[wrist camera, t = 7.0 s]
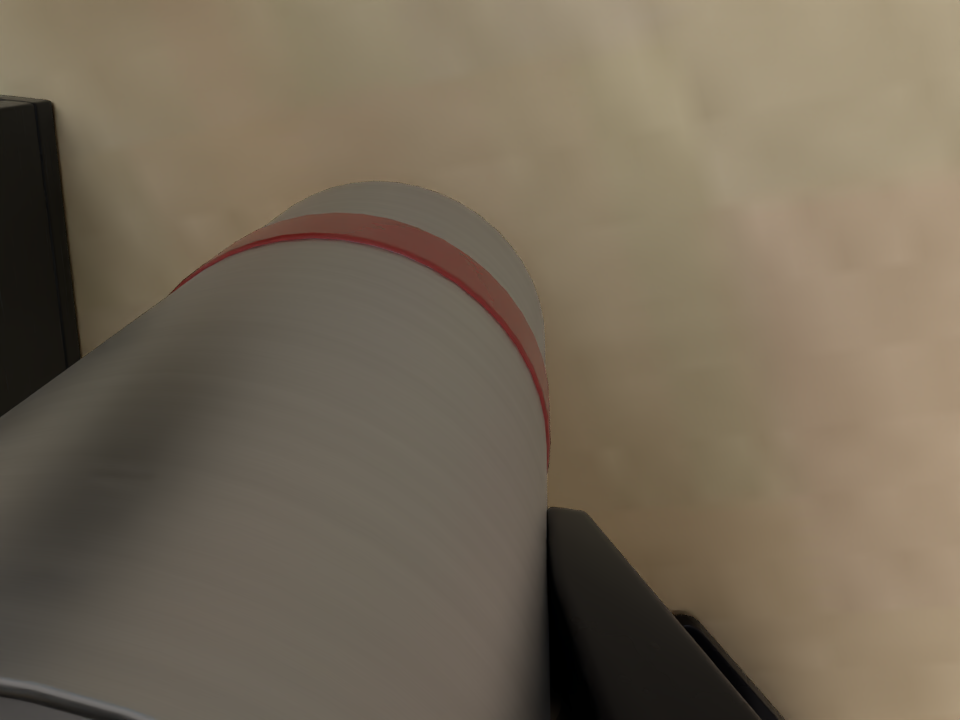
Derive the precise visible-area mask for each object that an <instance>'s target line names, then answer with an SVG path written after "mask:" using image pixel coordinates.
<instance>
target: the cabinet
mask: <svg viewBox="0 0 960 720" xmlns="http://www.w3.org/2000/svg"><path fill="white" fill-rule="evenodd" d="M79 360H80V350H79V341H78V332H77V324H76V315H75V306H74V297H73V288H72V279H71V271H70V262H69V253H68V244H67V235H66V227H65V218H64V209H63V200H62V191H61V182H60V174H59V165H58V156H57V147H56V138H55V129H54V121H53V112H52V104H51V102H50V101H48V100H43V99H34V98H25V97H16V96H7V95H0V417H1V416H3V415H4V414H6V413H7V412H8V411H10V410H11V409H13V408H14V407H15V406H17V405H18V404H19V403H21V402H22V401H24V400H25V399H26V398H28V397H29V396H30V395H32V394H33V393H35V392H36V391H37V390H39V389H40V388H42V387H43V386H44V385H46V384H47V383H48V382H50V381H51V380H53V379H54V378H55V377H57V376H58V375H59V374H61V373H62V372H64V371H65V370H66V369H68V368H69V367H70V366H72V365H73V364H75V363H76V362H77V361H79Z"/></svg>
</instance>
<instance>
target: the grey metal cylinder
mask: <svg viewBox="0 0 960 720" xmlns="http://www.w3.org/2000/svg"><path fill="white" fill-rule="evenodd" d="M550 444H551V437H550V402H549V388H548V380H547V375H546V370H545V332H544V319H543V314H542V310H541V305H540V300H539V298H538V295H537V292H536V289H535V287H534V284H533V281H532V279H531V277H530V275H529V273H528V271H527V269H526V268H525V266H524V264H523V262H522V261H521V259H520V258H519V256H518V255H517V253H516V252H515V251H514V249H513V248H512V246H511V245H510V244H509V243H508V242H507V241H506V240H505V238H504V237H503V236H502V235H501V234H500V233H499V232H498V231H497V230H496V229H495V228H494V227H493V226H492V225H490V224H489V223H488V222H487V221H486V220H484V219H483V218H482V217H481V216H480V215H478V214H477V213H475V212H474V211H472V210H471V209H469V208H467V207H466V206H464V205H463V204H461V203H460V202H457V201H455V200H453V199H451V198H449V197H447V196H445V195H442V194H440V193H438V192H435V191H432V190H428V189H425V188H422V187H419V186H414V185H409V184H403V183H398V182H382V181H369V182H358V183H350V184H345V185H341V186H336V187H332V188H329V189H326V190H324V191H321V192H318V193H316V194H313V195H311V196H309V197H307V198H305V199H303V200H302V201H300V202H298V203H296V204H294V205H293V206H291V207H290V208H288V209H287V210H286V211H284V212H283V213H282V214H280V215H279V216H277V217H276V218H275V219H273V220H272V221H271V222H269V223H268V224H266V225H265V226H264V227H262V228H261V229H258V230H256V231H254V232H252V233H251V234H249V235H247V236H245V237H243V238H242V239H240V240H238V241H236V242H235V243H233V244H232V245H230V246H229V247H227V248H226V249H225V250H223V251H222V252H220V253H219V254H218V255H216V256H215V257H213V258H212V259H211V260H209V261H208V262H206V263H205V264H203V265H202V266H201V267H200V268H198V269H197V270H196V271H194V272H193V273H192V274H190V275H189V276H188V277H187V278H185V279H184V280H183V281H182V282H181V283H180V284H179V285H178V286H177V287H176V288H175V289H174V290H173V291H172V292H171V293H170V294H169V295H168V296H167V297H166V298H164V299H163V300H162V301H160V302H159V303H157V304H156V305H155V306H153V307H152V308H150V309H149V310H148V311H146V312H145V313H144V314H142V315H141V316H139V317H138V318H137V319H135V320H134V321H133V322H131V323H130V324H128V325H127V326H126V327H124V328H123V329H122V330H120V331H119V332H117V333H116V334H115V335H113V336H112V337H110V338H109V339H108V340H106V341H105V342H104V343H102V344H101V345H99V346H98V347H97V348H95V349H94V350H93V351H91V352H90V353H88V354H87V355H86V356H84V357H83V358H82V359H80V360H79V361H77V362H76V363H75V364H73V365H72V366H70V367H69V368H68V369H66V370H65V371H64V372H62V373H61V374H59V375H58V376H57V377H55V378H54V379H53V380H51V381H50V382H48V383H47V384H46V385H44V386H43V387H42V388H40V389H39V390H37V391H36V392H35V393H33V394H32V395H30V396H29V397H28V398H26V399H25V400H24V401H22V402H21V403H19V404H18V405H17V406H15V407H14V408H13V409H11V410H10V411H8V412H7V413H6V414H4V415H3V416H1V417H0V720H550V650H549V610H548V578H547V473H548V468H549V457H550Z"/></svg>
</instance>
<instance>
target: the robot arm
mask: <svg viewBox="0 0 960 720" xmlns="http://www.w3.org/2000/svg"><path fill="white" fill-rule="evenodd" d="M547 578H548V610H549V650H550V720H785V719H784V718H783V717H782V716H781V715H780V714H779V712H778V711H777V710H776V709H775V708H774V707H773V706H772V704H771V703H770V702H769V701H768V700H767V699H766V698H765V696H764V695H763V694H762V693H761V692H760V691H759V690H758V688H757V687H756V686H755V685H754V684H753V683H752V682H751V680H750V679H749V678H748V677H747V676H746V675H745V674H744V672H743V671H742V670H741V669H740V668H739V667H738V666H737V664H736V663H735V662H734V661H733V660H732V659H731V658H730V656H729V655H728V654H727V653H726V652H725V651H724V650H723V648H722V647H721V646H720V645H719V644H718V643H717V642H716V640H715V639H714V638H713V637H712V636H711V635H710V634H709V632H708V631H707V630H706V629H705V628H704V627H703V626H702V624H701V623H700V622H699V621H698V620H696V619H695V618H694V617H691V616H688V615H676V616H673V614H672V613H671V612H670V611H669V610H668V608H667V607H666V606H665V605H664V604H663V603H662V601H661V600H660V599H659V598H658V597H657V595H656V594H655V593H654V592H653V591H652V590H651V588H650V587H649V586H648V585H647V584H646V582H645V581H644V580H643V579H642V578H641V576H640V575H639V574H638V573H637V572H636V571H635V569H634V568H633V567H632V566H631V565H630V563H629V562H628V561H627V560H626V559H625V558H624V556H623V555H622V554H621V553H620V552H619V550H618V549H617V548H616V547H615V546H614V545H613V543H612V542H611V541H610V540H609V539H608V537H607V536H606V535H605V534H604V533H603V532H602V530H601V529H600V528H599V527H598V526H597V524H596V523H595V522H594V521H593V520H592V518H591V517H590V516H589V515H588V514H587V513H586V512H584V511H582V510H575V509H566V508H558V507H550V508H548V509H547Z"/></svg>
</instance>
